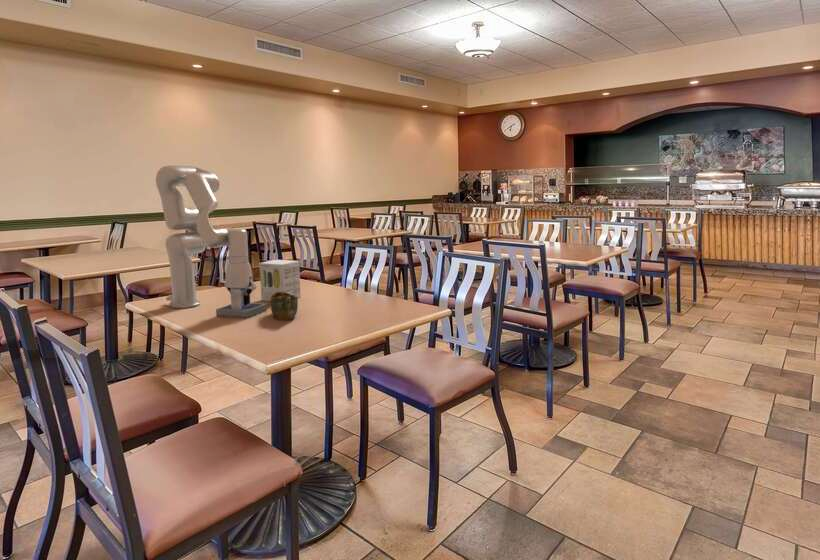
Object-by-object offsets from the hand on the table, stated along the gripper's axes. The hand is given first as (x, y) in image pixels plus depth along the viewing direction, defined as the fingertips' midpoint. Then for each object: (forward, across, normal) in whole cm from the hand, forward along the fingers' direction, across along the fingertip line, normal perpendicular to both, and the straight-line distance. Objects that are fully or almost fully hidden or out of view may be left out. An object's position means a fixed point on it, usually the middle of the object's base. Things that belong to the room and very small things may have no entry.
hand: (241, 303), depth 214 cm
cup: (+4, +19, 0) cm, 20 cm away
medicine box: (+2, 0, 0) cm, 2 cm away
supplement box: (+5, 0, +31) cm, 31 cm away
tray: (+4, 0, 0) cm, 4 cm away
